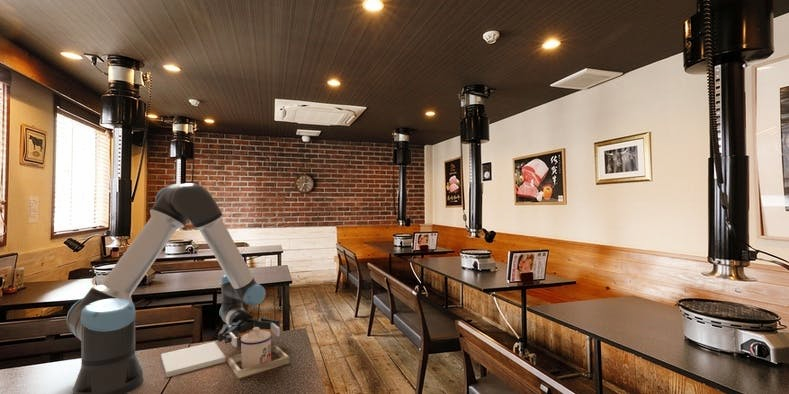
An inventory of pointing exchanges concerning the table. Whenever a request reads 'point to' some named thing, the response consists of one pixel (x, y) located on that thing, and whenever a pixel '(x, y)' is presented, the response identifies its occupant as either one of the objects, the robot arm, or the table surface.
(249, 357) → the teacup with lid
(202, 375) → the table surface
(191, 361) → the ceramic board
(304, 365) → the table surface
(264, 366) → the cup holder
